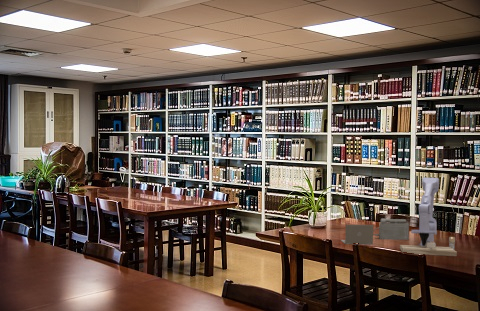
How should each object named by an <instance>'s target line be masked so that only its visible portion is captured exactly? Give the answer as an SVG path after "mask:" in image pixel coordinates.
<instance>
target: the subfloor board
mask: <svg viewBox="0 0 480 311" xmlns="http://www.w3.org/2000/svg"><path fill="white" fill-rule="evenodd" d="M399 250H400V251H401V253H403V252H407V253H414V254H413V255H423V254H425V255H426V256H428V255H429V256H443V257H445V256H448V257H457V256H458V255H457V254H458V251H456V250H455V248H454V249H452V248H451V247H449V246H435V248H427V247H426V246H421V245H407V244H399Z"/></svg>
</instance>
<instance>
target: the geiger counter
mask: <svg viewBox="0 0 480 311" xmlns="http://www.w3.org/2000/svg"><path fill="white" fill-rule="evenodd" d="M378 225H379V226H378V227H376V228H373V232H375V230H377V229H378V233H373V236H376V237H378V239H379V240H399V241H400V240H402V241H403V240H405V241H406V240H407V241H408V240H409V239H410V238H409V236H410V235H409V232H410V223H409V222H408V220H407V219H404V218H401V219H399V218H395V219H393V218H380V222H379V224H378Z"/></svg>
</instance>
